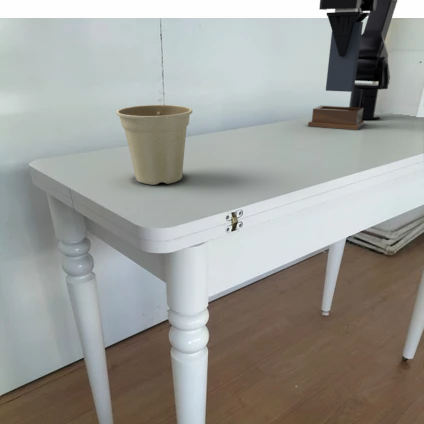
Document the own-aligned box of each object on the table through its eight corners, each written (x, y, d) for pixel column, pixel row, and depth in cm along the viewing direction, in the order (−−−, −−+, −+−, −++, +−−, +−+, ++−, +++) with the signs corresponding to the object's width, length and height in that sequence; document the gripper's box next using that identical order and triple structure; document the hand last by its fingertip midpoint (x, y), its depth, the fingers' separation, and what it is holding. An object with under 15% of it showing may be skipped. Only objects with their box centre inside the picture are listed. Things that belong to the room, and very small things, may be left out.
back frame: (317, 121, 99) (319, 104, 97) (364, 124, 95) (366, 107, 93) (308, 126, 94) (309, 109, 92) (356, 129, 89) (359, 112, 88)
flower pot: (186, 190, 56) (183, 116, 51) (113, 187, 57) (104, 114, 52) (200, 171, 64) (198, 105, 59) (135, 169, 65) (129, 104, 60)
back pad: (328, 89, 91) (336, 22, 85) (353, 90, 89) (363, 21, 83) (325, 90, 89) (332, 22, 83) (350, 91, 87) (360, 21, 81)
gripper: (397, -59, 67) (378, 59, 75) (412, -45, 81) (395, 53, 90) (323, -53, 72) (313, 58, 80) (350, -40, 86) (339, 53, 94)
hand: (343, 55), depth 86 cm, fingers closed on back pad, 2 cm apart
